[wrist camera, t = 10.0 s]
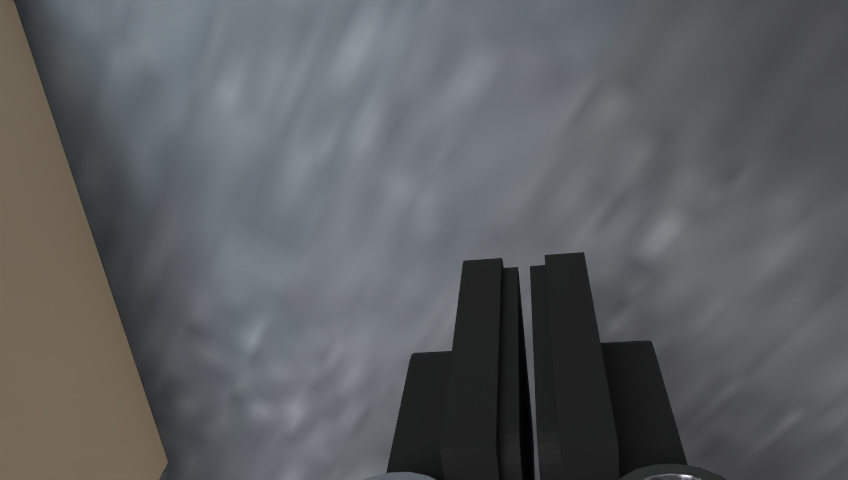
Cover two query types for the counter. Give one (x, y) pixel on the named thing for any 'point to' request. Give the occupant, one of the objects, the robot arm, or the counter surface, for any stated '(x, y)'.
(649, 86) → the counter surface
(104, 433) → the kraft carton
